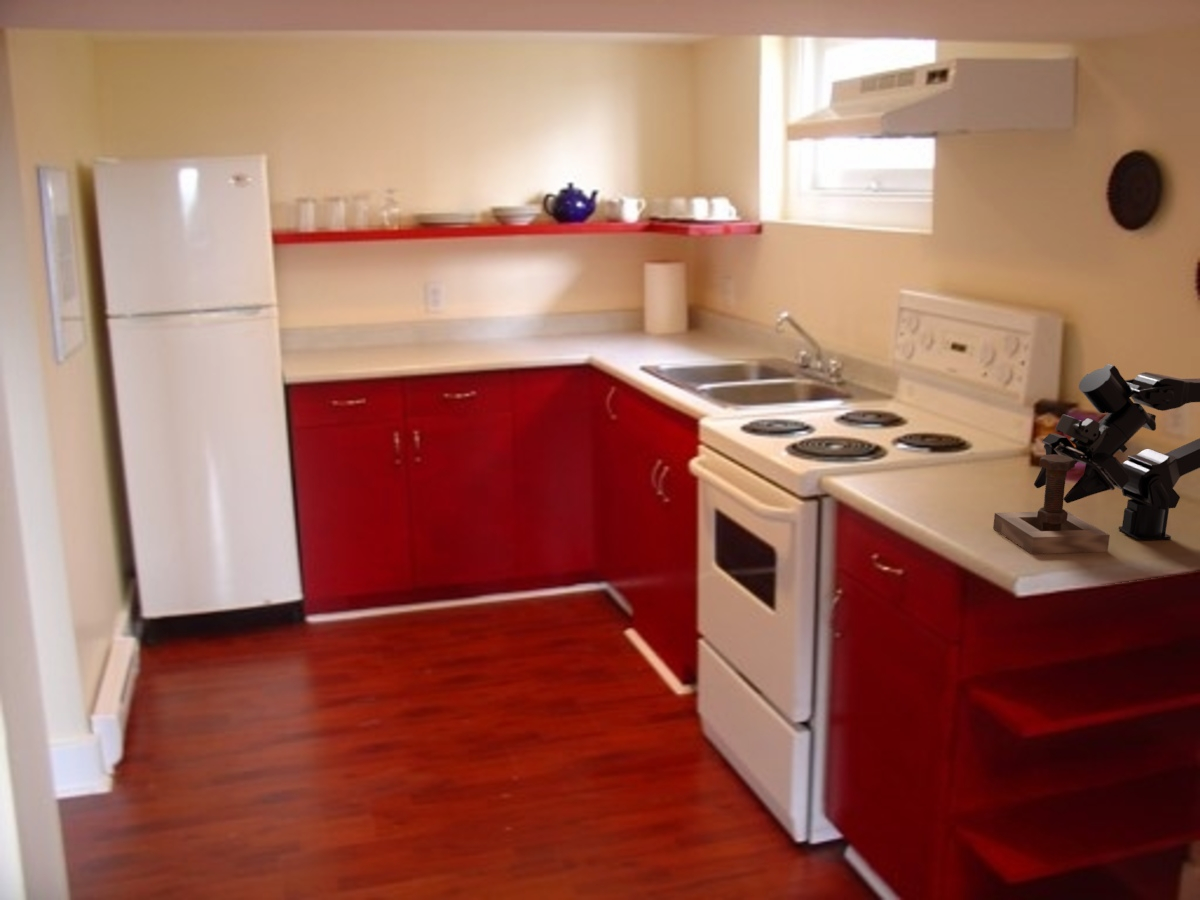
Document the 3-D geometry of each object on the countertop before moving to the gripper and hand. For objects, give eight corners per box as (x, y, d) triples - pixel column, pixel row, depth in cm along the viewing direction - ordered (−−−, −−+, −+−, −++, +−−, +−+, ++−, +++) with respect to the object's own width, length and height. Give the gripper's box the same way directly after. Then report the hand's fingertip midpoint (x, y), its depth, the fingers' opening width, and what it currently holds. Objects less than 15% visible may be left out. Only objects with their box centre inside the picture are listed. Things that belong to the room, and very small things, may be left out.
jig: (1064, 526, 212) (1066, 510, 211) (1107, 551, 198) (1109, 534, 198) (993, 528, 210) (994, 512, 209) (1031, 554, 196) (1033, 537, 196)
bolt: (1073, 543, 202) (1081, 460, 198) (1048, 546, 201) (1056, 463, 197) (1051, 532, 207) (1059, 452, 204) (1027, 535, 206) (1034, 455, 202)
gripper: (1057, 389, 208) (995, 450, 208) (1122, 411, 190) (1054, 478, 190) (1091, 430, 211) (1030, 490, 212) (1158, 455, 193) (1091, 521, 194)
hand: (1050, 493), depth 202 cm, fingers open, 9 cm apart
